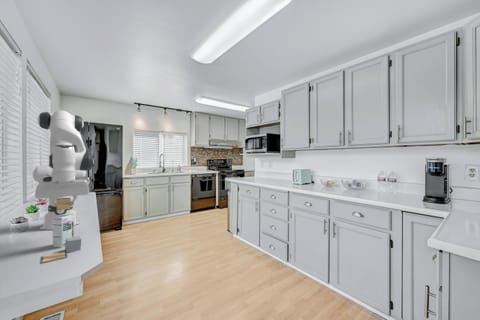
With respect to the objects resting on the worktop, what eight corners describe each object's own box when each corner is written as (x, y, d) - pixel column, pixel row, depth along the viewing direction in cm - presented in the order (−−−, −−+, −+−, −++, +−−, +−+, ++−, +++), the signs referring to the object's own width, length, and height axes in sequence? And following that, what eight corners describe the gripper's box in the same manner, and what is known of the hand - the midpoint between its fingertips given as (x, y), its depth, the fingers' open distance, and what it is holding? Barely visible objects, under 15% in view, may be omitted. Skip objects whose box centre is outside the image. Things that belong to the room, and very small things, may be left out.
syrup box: (62, 248, 99) (62, 217, 99) (52, 247, 100) (52, 216, 100) (73, 243, 104) (74, 214, 104) (64, 242, 105) (64, 213, 106)
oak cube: (56, 208, 102) (57, 198, 103) (70, 207, 106) (70, 197, 106) (56, 210, 99) (56, 200, 99) (70, 209, 102) (70, 198, 102)
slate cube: (65, 249, 96) (65, 238, 97) (78, 246, 100) (79, 236, 100) (66, 252, 93) (67, 241, 93) (80, 250, 96) (81, 239, 97)
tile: (41, 257, 89) (41, 255, 89) (66, 251, 95) (66, 250, 95) (39, 264, 83) (39, 263, 83) (67, 258, 88) (67, 256, 88)
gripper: (89, 176, 112) (89, 202, 111) (36, 178, 98) (35, 207, 98) (90, 176, 107) (90, 203, 107) (34, 178, 94) (34, 209, 93)
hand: (63, 205), depth 102 cm, fingers closed on oak cube, 5 cm apart
